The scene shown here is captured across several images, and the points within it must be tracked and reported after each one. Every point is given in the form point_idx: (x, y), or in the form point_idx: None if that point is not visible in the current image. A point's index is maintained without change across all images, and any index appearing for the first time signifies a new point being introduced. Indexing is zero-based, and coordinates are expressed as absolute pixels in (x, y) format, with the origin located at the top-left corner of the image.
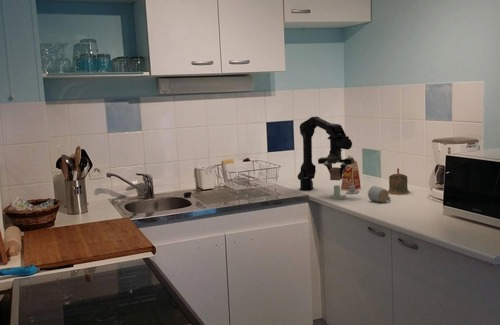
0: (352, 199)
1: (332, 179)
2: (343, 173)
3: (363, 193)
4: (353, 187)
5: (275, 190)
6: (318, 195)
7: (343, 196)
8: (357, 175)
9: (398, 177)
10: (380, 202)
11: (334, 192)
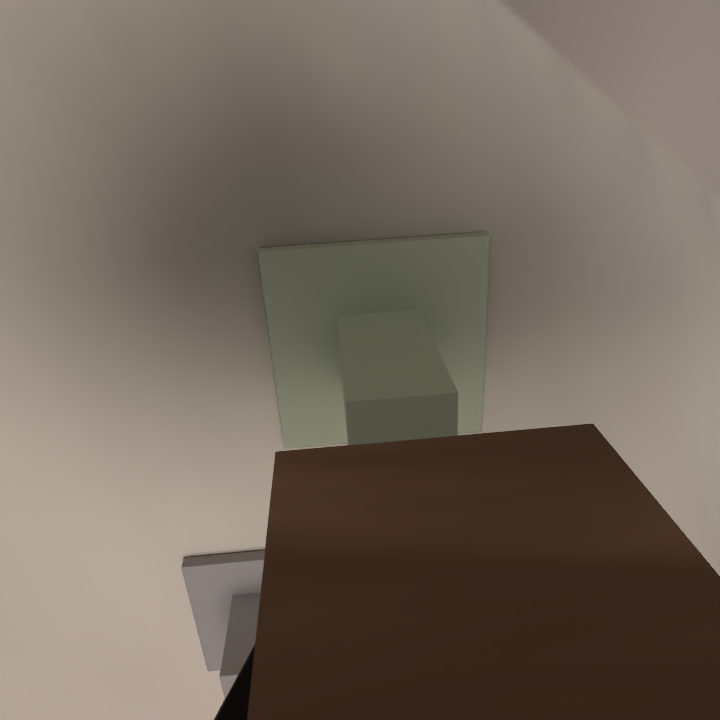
0: (42, 247)
1: (524, 444)
2: None
3: (122, 626)
4: (226, 661)
5: None
6: (694, 338)
7: (273, 366)
8: None
9: None
10: None
11: (418, 335)
